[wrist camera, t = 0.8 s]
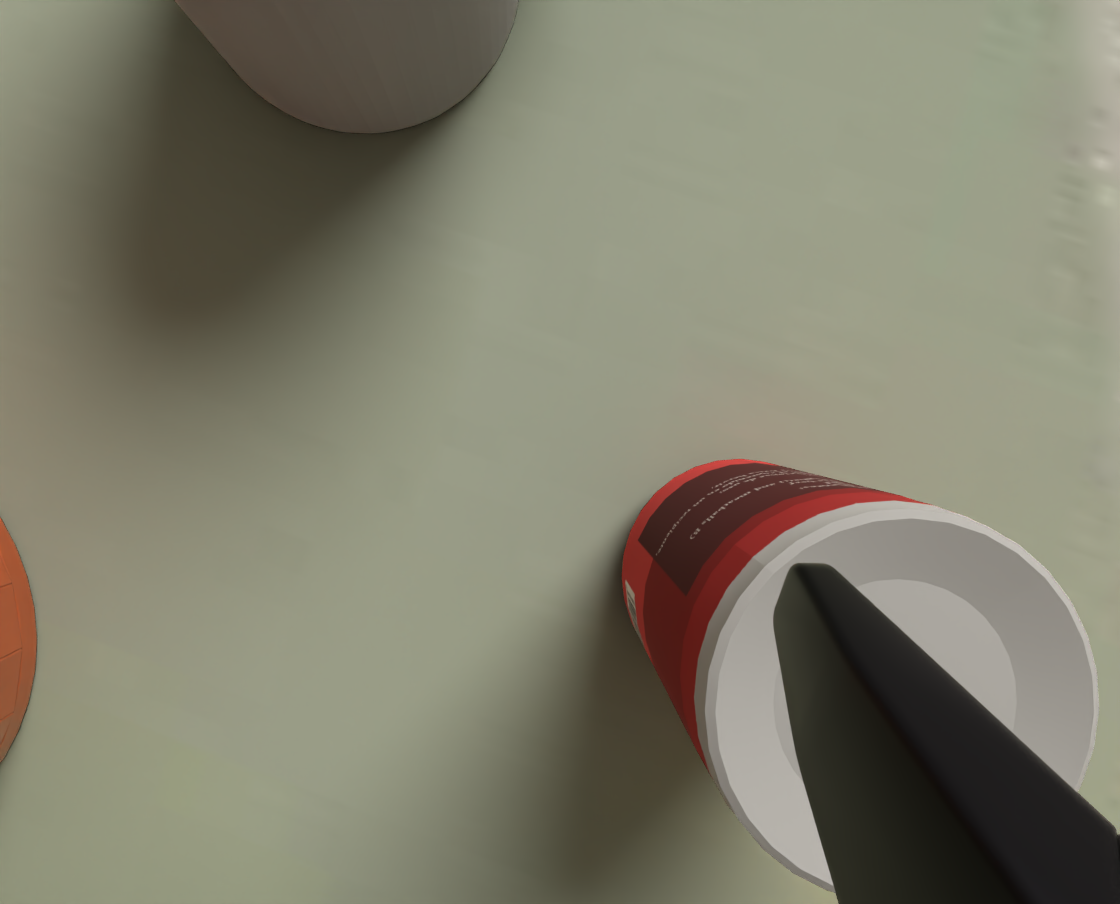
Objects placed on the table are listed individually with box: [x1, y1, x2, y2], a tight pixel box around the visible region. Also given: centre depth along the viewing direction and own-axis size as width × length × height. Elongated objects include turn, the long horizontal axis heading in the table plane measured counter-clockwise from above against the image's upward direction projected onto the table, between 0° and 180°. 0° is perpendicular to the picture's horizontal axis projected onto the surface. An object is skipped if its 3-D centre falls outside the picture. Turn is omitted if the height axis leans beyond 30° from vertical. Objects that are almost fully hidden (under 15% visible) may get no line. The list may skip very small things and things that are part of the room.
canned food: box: [622, 459, 1099, 893], centre depth 19 cm, size 8×8×11 cm
